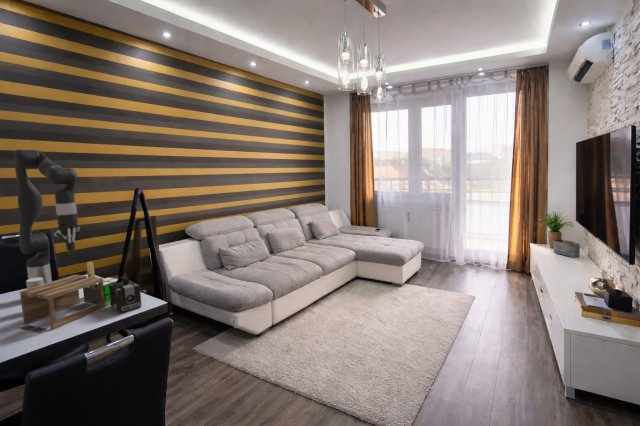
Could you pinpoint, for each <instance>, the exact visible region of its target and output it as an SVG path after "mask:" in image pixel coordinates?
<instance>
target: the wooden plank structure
mask: <svg viewBox="0 0 640 426" xmlns="http://www.w3.org/2000/svg"><path fill="white" fill-rule="evenodd" d="M103 279H104V278H103V277H96V276H95V277H88V275H80V274H74V275H70V276H66V277H63V278H60V279H56V280H52V282H50V283H46V284H43V285H40V286H36V287H33V288H30V289H27V288H26V289H23V290H21V291H19V295H20V303H21V310H22V319H23V324H24V325H22V326H19V329H20V328H22V329H21V330H24V331H29V330H30V331H31V332H35V333H42V332H45V331H46V330H48V328H46V327H41V326H37V327H36V326H35V325H31V324H30V323H33V322H35V321H38V320H40V319H43V318H45V317H48V316H49V320H50V327H51V330H52V331H53V330H56V329H59V328H61V327H64V326H65V325H69V324H70V323H72V322H75V321H77V320H80V319H82V318H84V317H86V316H89V315H91V314H94V313H96V312H99V311H101V310H102V309H103V310H104V309H105V308H108V307H111V300H110V301H108V302H105V296H104V286H103ZM96 283H99V292H100V301H101V302H100V303H98V304H92V305H91V306H88V307H85V308H84V309H81V310H78V311H76V312H74V313H71V314H69V315H66V316H64V317H61V318H59V319H57V318H56V317H57V316H56V313H58V312H60V311H64V310H66V309H68V308H72V307H74V306H77V305H80V304H82V303H85V302H84V296H83V297H80V291H79V290H83V288H85V287H88V286H90V285H93V284H96Z"/></svg>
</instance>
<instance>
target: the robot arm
mask: <svg viewBox="0 0 640 426" xmlns="http://www.w3.org/2000/svg"><path fill="white" fill-rule="evenodd" d="M13 164H14V170H15V171H14V172H15V177H16V185H17V205H18V207H17V208H18V215H19V233H18V234H19V238H18V240H19V241H18V242H19V249H20V251H21V253H23V254H24V255H29V254H33V253H34V254H35V253H36V254H35V255H34V256H33V257H31V258H29V259H27V260H26V264H25V265H26V270H27V271H26V272H27V278H28V279H32V278H38V277H42V278H43V283H44V284H46V283H50V282H53V280H52V270H51V264H50V263H51V262H50V261H51V258H50V257H51V255H50V253H51V252H50V242H49V241H50V240H49V238H48V236H47V234H46V233H43V232H39V233H34V234H32V229H33V225H34V224H35V222H36V221H37V220H38V218H39V216H40V214H41V213H42V211H43V207H44V206H43V196H42V194H41V193H40V191H39V190H38V188H36V186H35V185H34V184H33V183H32V181H31V180H30V179H29V176H28V173H27V170H38V171H39V173H40V174H41V175H43V176H44V177H46V178H47V179H48V182H49V183H50V184H53V185H65V187H64V188H62V189H61V188H60V189H57V190H55V192H54V199H55V200H54V201H55V212H56V213H55V214H56V223H57V225H58V226H57V231H56V232H53V233H52V235H53V236H54V238H56V239H57V240H58V241H59V242H61V243H65V247H66V251H68V252H73V251H75V249H76V246H75V245H76V244H75V243H76V241H78V240H79V239H80V237H81V236H82V234H83V232H84V231H85V229H84V228H83V227H82V228H81V227H80V225H79V224H78V220H79V219H78V211H77V208H78V207H77V205H76V200H75V199H76V198H75V192H76V186H77V181H78V174H77V172H76V170H75V169H74V168H71V167H62V166H61V165H60V164H57V163H55V162H54V161H51V159H49V158H48V156H47V155H45V154H44V153H43V152H42V151H40V150H37V149H36V150H35V149H16V150H15V151H14V153H13ZM28 279H27V280H28Z"/></svg>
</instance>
